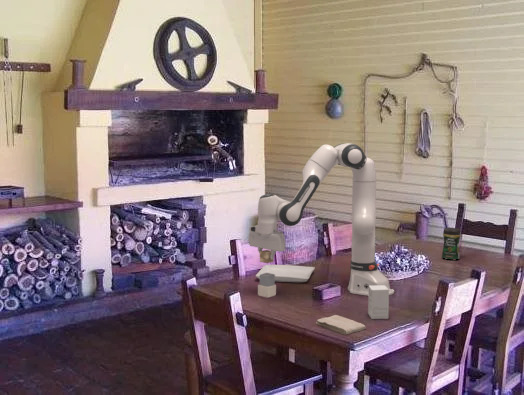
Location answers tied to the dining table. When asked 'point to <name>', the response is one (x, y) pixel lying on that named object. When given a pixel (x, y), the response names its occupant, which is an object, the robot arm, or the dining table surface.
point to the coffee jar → (451, 243)
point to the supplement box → (378, 302)
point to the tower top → (267, 279)
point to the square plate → (287, 273)
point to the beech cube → (265, 256)
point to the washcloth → (340, 324)
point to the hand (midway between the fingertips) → (266, 258)
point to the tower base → (266, 291)
